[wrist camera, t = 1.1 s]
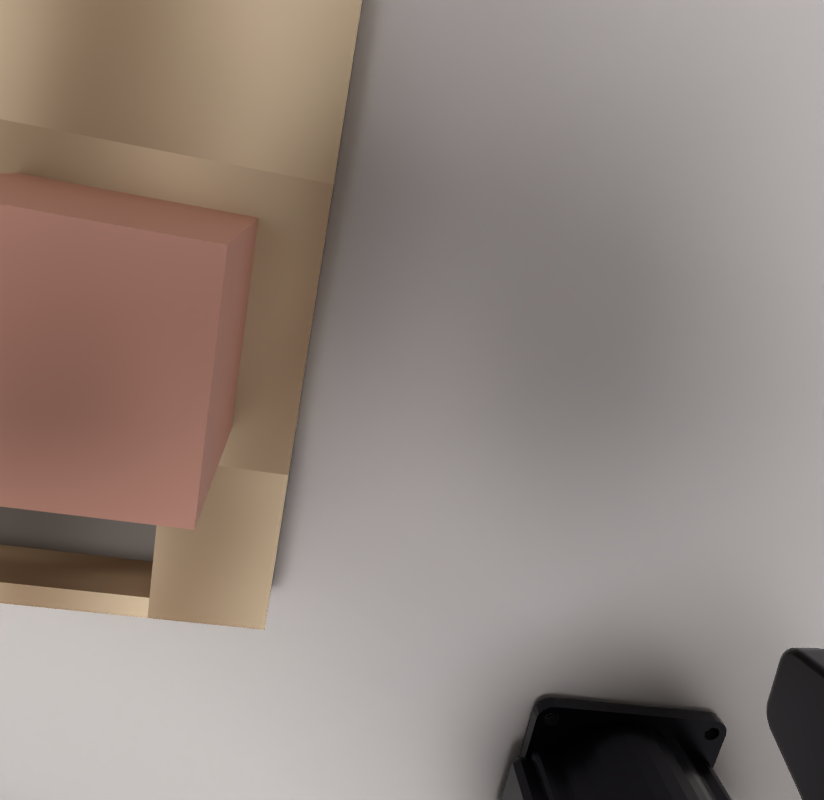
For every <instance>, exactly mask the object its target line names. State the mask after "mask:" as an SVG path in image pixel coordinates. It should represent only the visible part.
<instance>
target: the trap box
mask: <svg viewBox="0 0 824 800" xmlns="http://www.w3.org/2000/svg"><path fill="white" fill-rule="evenodd" d="M361 5H362V0H0V174H6V173H21V174H26V175H31V176H37V177H42V178H47V179H53V180H58V181H64V182H69V183H74V184H80V185H85V186H90V187H96V188H101V189H107V190H112V191H117V192H123V193H128V194H134V195H139V196H144V197H150V198H155V199H160V200H166V201H171V202H177V203H182V204H187V205H193V206H198V207H203V208H209V209H214V210H220V211H225V212H230V213H236V214H241V215H246V216H252V217H257V218H258V225H257V233H256V241H255V249H254V257H253V265H252V272H251V280H250V288H249V296H248V304H247V312H246V319H245V327H244V335H243V343H242V351H241V359H240V367H239V374H238V382H237V390H236V398H235V406H234V414H233V421H232V429H231V432H230V434H229V437H228V440H227V443H226V445H225V448H224V451H223V453H222V456H221V459H220V462H219V464H218V467H217V470H216V472H215V475H214V478H213V481H212V483H211V486H210V489H209V491H208V494H207V497H206V500H205V502H204V505H203V508H202V510H201V513H200V516H199V519H198V521H197V524H196V527H195V529H194V530H192V529H184V528H175V527H167V526H159V525H150V524H142V523H134V522H125V521H117V520H109V519H100V518H92V517H84V516H75V515H67V514H59V513H50V512H42V511H34V510H25V509H17V508H9V507H0V603H5V604H15V605H25V606H35V607H45V608H55V609H65V610H75V611H85V612H94V613H104V614H114V615H124V616H134V617H144V618H154V619H164V620H174V621H184V622H193V623H203V624H213V625H223V626H233V627H243V628H253V629H263V630H265V624H266V618H267V611H268V605H269V598H270V592H271V585H272V579H273V572H274V566H275V559H276V553H277V547H278V540H279V534H280V527H281V521H282V514H283V508H284V501H285V495H286V489H287V482H288V476H289V469H290V463H291V456H292V450H293V443H294V437H295V431H296V424H297V418H298V411H299V405H300V398H301V392H302V385H303V379H304V373H305V366H306V360H307V353H308V347H309V340H310V334H311V327H312V321H313V315H314V308H315V302H316V295H317V289H318V282H319V276H320V269H321V263H322V257H323V250H324V244H325V237H326V231H327V224H328V218H329V211H330V205H331V199H332V192H333V186H334V179H335V173H336V166H337V160H338V153H339V147H340V140H341V134H342V128H343V121H344V115H345V108H346V102H347V95H348V89H349V82H350V76H351V70H352V63H353V57H354V50H355V44H356V37H357V31H358V24H359V18H360V12H361Z"/></svg>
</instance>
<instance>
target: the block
mask: <svg viewBox="0 0 824 800" xmlns="http://www.w3.org/2000/svg"><path fill="white" fill-rule="evenodd" d="M257 225H258V218H257V217H252V216H246V215H241V214H236V213H230V212H225V211H220V210H214V209H209V208H203V207H198V206H193V205H187V204H182V203H177V202H171V201H166V200H160V199H155V198H150V197H144V196H139V195H134V194H128V193H123V192H117V191H112V190H107V189H101V188H96V187H90V186H85V185H80V184H74V183H69V182H64V181H58V180H53V179H47V178H42V177H37V176H31V175H26V174H21V173H6V174H0V507H9V508H17V509H25V510H34V511H42V512H50V513H59V514H67V515H75V516H84V517H92V518H100V519H109V520H117V521H125V522H134V523H142V524H150V525H159V526H167V527H175V528H184V529H192V530H194V529H195V527H196V524H197V521H198V519H199V516H200V513H201V510H202V508H203V505H204V502H205V500H206V497H207V494H208V491H209V489H210V486H211V483H212V481H213V478H214V475H215V472H216V470H217V467H218V464H219V462H220V459H221V456H222V453H223V451H224V448H225V445H226V443H227V440H228V437H229V434H230V432H231V429H232V421H233V414H234V406H235V398H236V390H237V382H238V374H239V367H240V359H241V351H242V343H243V335H244V327H245V319H246V312H247V304H248V296H249V288H250V280H251V272H252V265H253V257H254V249H255V241H256V233H257Z"/></svg>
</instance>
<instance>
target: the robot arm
mask: <svg viewBox="0 0 824 800" xmlns="http://www.w3.org/2000/svg"><path fill="white" fill-rule="evenodd" d="M551 713H555V714H554V715H553V716H551V717H546V716H547V715H548V714H551ZM767 719H768V723H769V726H770V729H771V732H772V734H773V736H774V738H775V740H776V743H777V745H778V747H779V749H780V751H781V754H782V756H783V758H784V760H785V762H786V765H787V767H788V769H789V771H790V773H791V776H792V778H793V780H794V782H795V784H796V787H797V789H798V791H799V793H800V795H801V798H802V800H824V649H819V648H790V649H788V650H786V651H785V652H784V653H783V655H782V656H781V659H780V662H779V665H778V668H777V672H776V675H775V679H774V682H773V685H772V689H771V692H770V695H769V699H768V702H767ZM709 728H711V729H710V730H708V729H709ZM706 730H708V731H706ZM725 736H726V727H725V725H724V724H723V722H722V721H721V719H720V718H719V717H718V716H717V715H716V714H713V713H708V712H698V711H687V710H676V709H665V708H654V707H644V706H633V705H622V704H611V703H600V702H589V701H579V700H568V699H557V698H546V699H544V700H541V701H540V702H538V703H537V704H536V705H535V707H534V709H533V712H532V715H531V719H530V722H529V726H528V729H527V733H526V736H525V739H524V743H523V746H522V750H521V753H520V756H519V757H517V758H516V759H515V760H514V761H513V763H512V764H511V767H510V771H509V774H508V778H507V781H506V785H505V788H504V792H503V795H502V798H501V800H732V799H731V798H730V796H729V795H728V793H727V791H726V790H725V788H724V786H723V785H722V783H721V782H720V780H719V778H718V777H717V775H716V773H715V772H714V770H713V766H714V764H715V761H716V759H717V756H718V754H719V751H720V749H721V746H722V743H723V741H724V738H725Z"/></svg>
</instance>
